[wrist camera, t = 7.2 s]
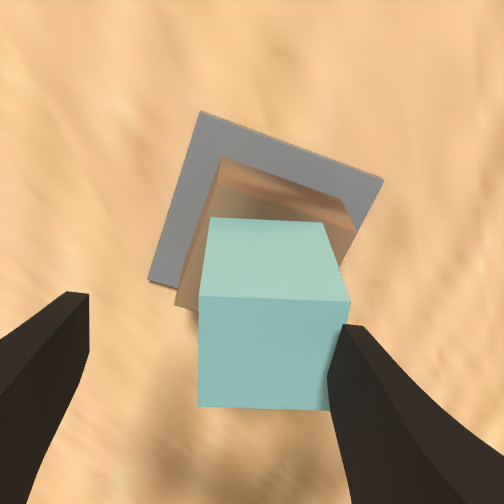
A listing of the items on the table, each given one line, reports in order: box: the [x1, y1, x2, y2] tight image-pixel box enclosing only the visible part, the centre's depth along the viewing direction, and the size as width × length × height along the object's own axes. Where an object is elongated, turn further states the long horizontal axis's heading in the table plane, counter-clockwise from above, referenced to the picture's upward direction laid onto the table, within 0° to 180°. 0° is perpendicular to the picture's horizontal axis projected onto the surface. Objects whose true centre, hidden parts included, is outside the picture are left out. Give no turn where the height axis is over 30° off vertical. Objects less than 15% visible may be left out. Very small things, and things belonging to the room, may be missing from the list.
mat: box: [147, 111, 384, 288], centre depth 23 cm, size 9×9×1 cm
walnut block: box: [174, 156, 357, 312], centre depth 21 cm, size 6×6×4 cm
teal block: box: [198, 217, 351, 411], centre depth 17 cm, size 4×4×6 cm
